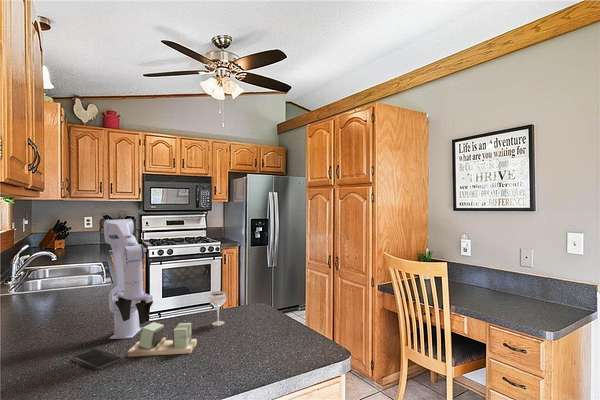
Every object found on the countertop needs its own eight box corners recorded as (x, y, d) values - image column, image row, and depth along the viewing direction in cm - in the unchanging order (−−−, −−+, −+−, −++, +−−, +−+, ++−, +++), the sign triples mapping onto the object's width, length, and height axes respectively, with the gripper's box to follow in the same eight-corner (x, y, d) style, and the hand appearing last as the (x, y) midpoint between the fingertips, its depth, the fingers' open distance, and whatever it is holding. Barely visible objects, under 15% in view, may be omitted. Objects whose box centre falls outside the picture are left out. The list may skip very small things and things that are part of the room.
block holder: (137, 346, 119) (137, 324, 119) (196, 343, 120) (196, 321, 120) (127, 356, 111) (126, 333, 111) (190, 353, 112) (190, 330, 112)
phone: (96, 368, 102) (70, 357, 110) (96, 372, 102) (71, 360, 110) (122, 357, 109) (96, 348, 117) (122, 361, 109) (96, 351, 117)
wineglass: (214, 327, 135) (213, 296, 135) (206, 323, 140) (206, 293, 140) (230, 323, 139) (229, 293, 139) (222, 319, 144) (221, 290, 144)
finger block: (138, 345, 113) (142, 327, 113) (149, 339, 119) (153, 321, 119) (151, 349, 112) (155, 331, 112) (161, 342, 118) (165, 325, 118)
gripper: (159, 280, 118) (160, 319, 118) (127, 277, 123) (128, 315, 123) (142, 285, 111) (143, 327, 111) (110, 281, 117) (111, 322, 117)
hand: (134, 321), depth 117 cm, fingers open, 7 cm apart
